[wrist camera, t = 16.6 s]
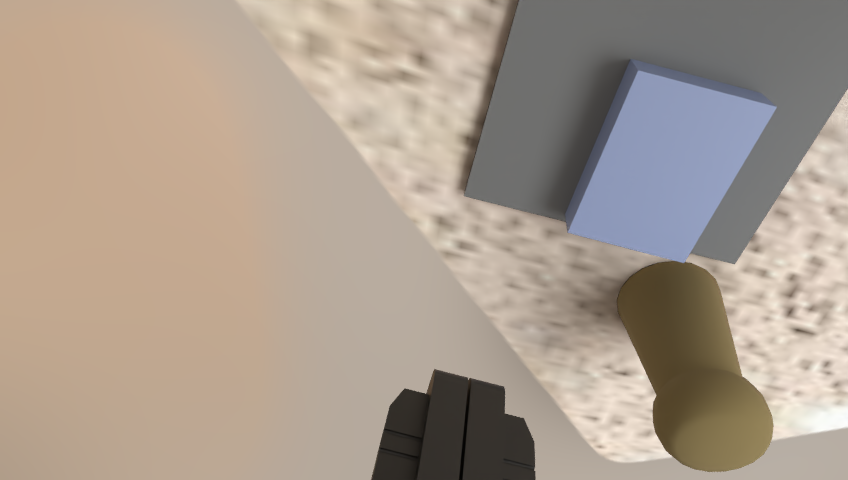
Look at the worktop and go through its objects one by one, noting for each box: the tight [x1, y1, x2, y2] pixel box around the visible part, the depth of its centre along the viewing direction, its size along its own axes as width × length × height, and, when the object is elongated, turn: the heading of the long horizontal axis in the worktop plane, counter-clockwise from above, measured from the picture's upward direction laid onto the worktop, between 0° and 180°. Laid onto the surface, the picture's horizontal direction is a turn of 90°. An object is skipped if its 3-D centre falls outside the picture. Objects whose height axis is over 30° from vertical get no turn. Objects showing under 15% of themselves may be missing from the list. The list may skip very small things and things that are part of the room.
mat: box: [464, 0, 848, 264], centre depth 29 cm, size 16×14×1 cm
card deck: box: [565, 59, 777, 263], centre depth 29 cm, size 2×9×6 cm
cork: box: [617, 261, 773, 472], centre depth 30 cm, size 6×6×11 cm
